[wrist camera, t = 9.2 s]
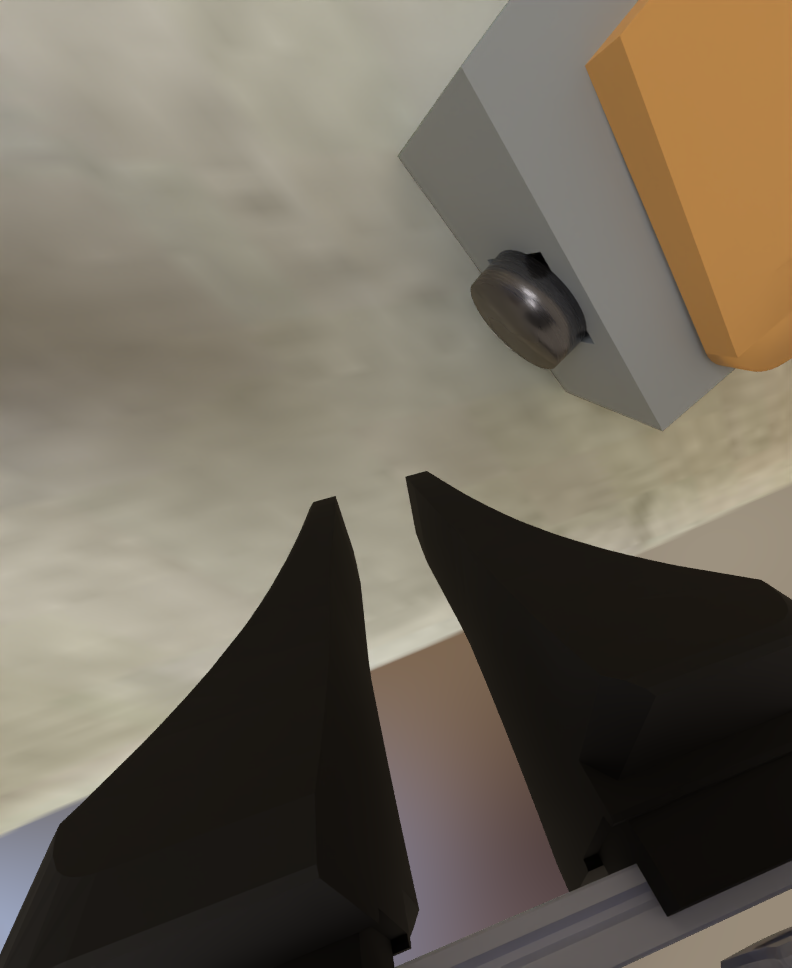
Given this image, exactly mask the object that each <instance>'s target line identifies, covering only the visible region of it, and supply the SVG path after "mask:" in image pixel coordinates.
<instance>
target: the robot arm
mask: <svg viewBox="0 0 792 968" xmlns="http://www.w3.org/2000/svg"><path fill="white" fill-rule="evenodd" d="M406 482H407V487H408V493H409V498H410V503H411V509H412V514H413V520H414V525H415V530H416V534H417V537H418V540H419V542H420V545H421V548H422V550H423V553H424V555H425V558H426V560H427V563H428V565H429V567H430V568H431V570H432V572H433V574H434V576H435V578H436V580H437V582H438V584H439V585H440V587H441V589H442V591H443V593H444V595H445V597H446V599H447V600H448V602H449V604H450V606H451V608H452V610H453V612H454V613H455V615H456V617H457V619H458V621H459V623H460V625H461V627H462V628H463V630H464V633H465V635H466V637H467V639H468V641H469V643H470V645H471V647H472V650H473V652H474V654H475V657H476V659H477V662H478V664H479V666H480V669H481V671H482V673H483V676H484V678H485V681H486V683H487V686H488V688H489V691H490V693H491V695H492V698H493V700H494V703H495V705H496V708H497V710H498V713H499V715H500V718H501V720H502V722H503V725H504V727H505V730H506V733H507V735H508V738H509V740H510V743H511V745H512V748H513V750H514V753H515V755H516V758H517V760H518V763H519V765H520V768H521V771H522V773H523V776H524V778H525V781H526V783H527V786H528V789H529V791H530V794H531V796H532V799H533V801H534V804H535V807H536V810H537V812H538V815H539V817H540V820H541V823H542V825H543V828H544V831H545V833H546V836H547V838H548V841H549V844H550V846H551V849H552V852H553V855H554V857H555V860H556V863H557V865H558V867H559V870H560V872H561V874H562V877H563V879H564V881H565V883H566V886H567V888H568V890H569V893H567V894H564V895H562V896H560V897H557V898H555V899H553V900H551V901H548V902H546V903H543V904H541V905H539V906H536V907H534V908H532V909H529V910H527V911H525V912H522V913H520V914H518V915H515V916H513V917H511V918H508V919H506V920H504V921H501V922H499V923H497V924H495V925H492V926H490V927H488V928H485V929H483V930H481V931H479V932H476V933H474V934H471V935H469V936H467V937H464V938H462V939H460V940H457V941H455V942H453V943H450V944H448V945H446V946H443V947H441V948H439V949H436V950H434V951H432V952H429V953H427V954H425V955H422V956H420V957H418V958H415V959H413V960H411V961H408V962H406V963H404V964H402V965H399V966H397V967H395V968H622V967H624V966H626V965H628V964H630V963H632V962H634V961H637V960H639V959H641V958H643V957H645V956H647V955H650V954H652V953H654V952H656V951H658V950H660V949H663V948H665V947H667V946H669V945H671V944H673V943H675V942H678V941H680V940H682V939H684V938H686V937H688V936H691V935H693V934H695V933H697V932H699V931H701V930H703V929H706V928H708V927H710V926H712V925H714V924H716V923H719V922H721V921H723V920H725V919H727V918H729V917H731V916H734V915H736V914H738V913H740V912H742V911H744V910H747V909H749V908H751V907H753V906H755V905H757V904H759V903H762V902H764V901H766V900H768V899H770V898H773V897H775V896H777V895H779V894H781V893H783V892H785V891H788V890H790V889H792V600H791V599H790V598H788V597H787V596H785V595H784V594H782V593H781V592H779V591H777V590H776V589H775V588H773V587H771V586H770V585H768V584H767V583H765V582H763V581H762V580H759V579H752V578H747V577H741V576H734V575H729V574H722V573H717V572H711V571H705V570H699V569H693V568H687V567H682V566H676V565H671V564H666V563H662V562H657V561H652V560H648V559H643V558H639V557H635V556H630V555H626V554H622V553H618V552H614V551H610V550H606V549H602V548H599V547H595V546H592V545H589V544H585V543H582V542H578V541H575V540H572V539H568V538H565V537H562V536H559V535H556V534H553V533H550V532H548V531H545V530H542V529H540V528H537V527H534V526H532V525H529V524H526V523H524V522H521V521H519V520H516V519H514V518H512V517H510V516H507V515H505V514H503V513H501V512H499V511H497V510H495V509H492V508H490V507H488V506H486V505H484V504H482V503H480V502H479V501H477V500H475V499H473V498H471V497H469V496H468V495H466V494H464V493H462V492H460V491H459V490H457V489H455V488H454V487H452V486H450V485H449V484H447V483H445V482H444V481H442V480H440V479H439V478H437V477H436V476H434V475H432V474H431V473H429V472H427V471H425V472H421V473H418V474H414V475H410V476H407V477H406ZM418 911H419V907H418V902H417V898H416V893H415V889H414V884H413V879H412V875H411V871H410V865H409V861H408V856H407V852H406V847H405V843H404V838H403V833H402V828H401V824H400V820H399V814H398V810H397V805H396V800H395V795H394V790H393V786H392V781H391V776H390V771H389V766H388V761H387V757H386V752H385V747H384V742H383V736H382V731H381V726H380V722H379V717H378V711H377V706H376V701H375V697H374V692H373V686H372V681H371V674H370V667H369V660H368V651H367V641H366V631H365V621H364V611H363V602H362V592H361V583H360V578H359V574H358V569H357V564H356V560H355V556H354V551H353V548H352V545H351V542H350V539H349V536H348V533H347V530H346V527H345V524H344V521H343V517H342V514H341V511H340V508H339V505H338V502H337V499H336V496H334V497H330V498H327V499H323V500H319V501H316V502H313V504H312V505H311V507H310V509H309V512H308V514H307V517H306V519H305V522H304V524H303V526H302V529H301V531H300V533H299V535H298V537H297V539H296V542H295V544H294V546H293V548H292V550H291V552H290V554H289V556H288V558H287V560H286V562H285V563H284V565H283V567H282V569H281V570H280V572H279V574H278V576H277V577H276V579H275V581H274V583H273V584H272V586H271V588H270V589H269V591H268V593H267V594H266V596H265V597H264V599H263V600H262V602H261V604H260V605H259V607H258V608H257V610H256V611H255V612H254V614H253V615H252V617H251V618H250V620H249V621H248V623H247V624H246V625H245V627H244V628H243V629H242V631H241V632H240V633H239V634H238V636H237V637H236V638H235V639H234V641H233V642H232V643H231V644H230V646H229V647H228V648H227V649H226V651H225V652H224V653H223V654H222V656H221V657H220V658H219V659H218V661H217V662H216V663H215V664H214V666H213V667H212V668H211V669H210V671H209V672H208V673H207V674H206V675H205V676H204V677H203V679H202V680H201V681H200V682H199V683H198V684H197V685H196V687H195V688H194V689H193V690H192V691H191V692H190V693H189V694H188V696H187V697H186V698H185V699H184V700H183V701H182V702H181V703H180V704H179V705H178V706H177V708H176V709H175V710H174V711H173V712H172V713H171V714H170V715H169V716H168V717H167V718H166V719H165V720H164V722H163V723H162V724H161V725H160V726H159V727H158V728H157V729H156V730H155V731H154V732H153V733H152V734H151V735H150V736H149V737H148V738H147V739H146V740H145V741H144V742H143V743H142V745H141V746H139V747H138V748H137V749H136V750H135V751H134V752H133V753H132V754H131V755H130V756H129V757H128V758H127V759H126V760H125V761H124V762H123V763H122V764H121V765H120V766H119V767H118V768H117V769H116V770H115V771H114V772H113V773H112V774H111V775H110V776H109V777H108V778H107V779H106V780H105V781H104V782H103V783H102V784H101V785H100V786H99V787H98V788H97V789H96V790H95V791H94V792H93V793H92V794H91V795H90V796H89V797H88V798H87V799H86V800H85V801H84V802H83V803H82V804H81V805H80V806H78V807H77V808H76V809H75V810H74V811H73V812H72V813H71V814H70V815H69V816H68V817H67V818H66V819H65V820H64V821H63V822H62V823H60V825H59V827H58V829H57V831H56V833H55V835H54V837H53V839H52V841H51V843H50V846H49V848H48V850H47V852H46V854H45V857H44V859H43V861H42V863H41V865H40V868H39V870H38V872H37V875H36V877H35V879H34V881H33V883H32V885H31V887H30V890H29V892H28V894H27V896H26V898H25V901H24V903H23V905H22V907H21V909H20V912H19V914H18V916H17V918H16V921H15V923H14V925H13V927H12V929H11V931H10V934H9V936H8V938H7V940H6V943H5V945H4V947H3V949H2V951H1V954H0V968H394V961H393V956H395V955H397V954H400V953H402V952H404V951H407V950H409V949H411V941H410V936H411V933H412V931H413V928H414V925H415V921H416V918H417V915H418ZM721 968H792V927H789V928H787V929H784V930H782V931H779V932H777V933H775V934H773V935H771V936H768V937H766V938H764V939H762V940H760V941H758V942H756V943H754V944H752V945H750V946H748V947H746V948H745V949H743V950H741V951H739V952H738V953H735V954H734V955H732V956H730V957H728V958H726V959H725V960H723V961H721Z"/></svg>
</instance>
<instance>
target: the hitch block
mask: <svg viewBox="0 0 792 968" xmlns="http://www.w3.org/2000/svg"><path fill="white" fill-rule="evenodd" d="M637 1H638V0H509V1H508V2H507V4H506V5H505V7H504V8H503V9H502V11H501V12H500V13H499V15H498V16H497V17H496V19H495V20H494V22H493V23H492V24H491V26H490V27H489V28H488V30H487V31H486V32H485V34H484V35H483V37H482V38H481V39H480V41H479V42H478V43H477V45H476V46H475V47H474V49H473V50H472V52H471V53H470V54H469V56H468V57H467V58H466V60H465V61H464V62H463V64H462V65H461V67H460V68H459V69H458V71H457V72H456V74H455V75H454V77H453V78H452V79H451V81H450V82H449V84H448V85H447V87H446V88H445V89H444V91H443V92H442V94H441V95H440V97H439V98H438V99H437V101H436V102H435V104H434V105H433V107H432V108H431V110H430V111H429V112H428V114H427V115H426V117H425V118H424V120H423V121H422V122H421V124H420V125H419V127H418V128H417V130H416V131H415V132H414V134H413V135H412V137H411V138H410V140H409V141H408V142H407V144H406V145H405V147H404V148H403V150H402V151H401V152H400V154H399V155H398V157H399V158H400V160H401V161H402V163H403V164H404V165H405V167H406V168H407V170H408V171H409V172H410V174H411V175H412V177H413V178H414V179H415V181H416V182H417V184H418V185H419V186H420V188H421V189H422V191H423V192H424V193H425V195H426V196H427V198H428V199H429V200H430V202H431V203H432V205H433V206H434V207H435V209H436V210H437V212H438V213H439V214H440V216H441V217H442V219H443V220H444V221H445V223H446V224H447V226H448V227H449V228H450V230H451V231H452V233H453V234H454V235H455V237H456V238H457V240H458V241H459V242H460V244H461V245H462V247H463V248H464V249H465V251H466V252H467V254H468V255H469V256H470V258H471V259H472V261H473V262H474V263H475V265H476V266H477V268H478V269H479V270H480V272H481V273H483V271H484V270H485V269H486V268H487V267H488V266H489V265H490V263H491V262H492V261H493V260H494V259H495V258H496V257H497V255H498V254H499V253H500V252H502V251H505V250H516V251H519V252H523V253H525V254H527V255H529V256H531V255H532V254H533V253H537V252H541V254H542V256H543V257H544V259H545V261H546V262H547V264H548V266H549V268H550V269H551V271H552V272H553V273H554V274H555V275H556V276H557V277H558V278H559V279H560V280H561V281H562V282H563V283H564V284H565V285H566V287H567V288H568V289H569V290H570V292H571V293H572V294H573V296H574V297H575V299H576V300H577V302H578V304H579V306H580V308H581V309H582V312H583V314H584V317H585V321H586V326H587V332H586V336H585V338H584V339H583V340H582V341H581V342H580V343H579V344H578V345H577V346H576V347H575V348H574V349H573V350H572V351H571V352H570V353H569V354H568V355H567V356H566V357H565V358H564V359H563V360H562V361H561V362H560V363H559V364H558V365H557V366H556V367H555V368H554V369H550V370H551V371H552V373H553V374H554V375H555V377H556V378H557V380H558V381H559V382H560V384H561V385H562V387H563V388H564V389H565V391H566V392H568V393H571V394H573V395H575V396H578V397H580V398H583V399H585V400H588V401H590V402H593V403H595V404H598V405H600V406H602V407H605V408H607V409H610V410H612V411H615V412H617V413H620V414H622V415H624V416H627V417H629V418H632V419H634V420H637V421H639V422H642V423H644V424H647V425H649V426H651V427H654V428H656V429H659V430H661V431H664V430H665V429H666V428H667V427H668V426H669V425H670V424H672V423H673V422H674V421H675V420H676V419H677V418H679V417H680V416H681V415H682V414H683V413H684V412H686V411H687V410H688V409H689V408H690V407H691V406H693V405H694V404H695V403H696V402H697V401H698V400H699V399H701V398H702V397H703V396H704V395H705V394H706V393H708V392H709V391H710V390H711V389H712V388H713V387H715V386H716V385H717V384H718V383H719V382H720V381H722V380H723V379H724V378H725V377H726V376H727V375H728V374H730V373H731V372H732V371H733V370H734V369H735V368H732V367H726V366H720V365H717V364H715V363H713V362H712V361H711V360H710V359H709V358H708V356H707V354H706V352H705V350H704V347H703V345H702V343H701V340H700V338H699V336H698V333H697V331H696V328H695V326H694V324H693V321H692V319H691V317H690V314H689V312H688V309H687V307H686V305H685V302H684V300H683V298H682V295H681V293H680V290H679V288H678V286H677V283H676V281H675V279H674V276H673V274H672V271H671V269H670V267H669V264H668V262H667V260H666V257H665V255H664V252H663V250H662V248H661V245H660V243H659V241H658V238H657V236H656V233H655V231H654V229H653V226H652V224H651V222H650V219H649V217H648V214H647V212H646V210H645V207H644V205H643V203H642V200H641V198H640V195H639V193H638V191H637V188H636V186H635V184H634V181H633V179H632V176H631V174H630V172H629V169H628V167H627V165H626V162H625V160H624V157H623V155H622V153H621V150H620V148H619V146H618V143H617V141H616V139H615V136H614V134H613V131H612V129H611V127H610V124H609V122H608V120H607V117H606V115H605V112H604V110H603V108H602V105H601V103H600V101H599V98H598V96H597V93H596V91H595V89H594V86H593V84H592V82H591V79H590V77H589V74H588V72H587V70H586V67H585V65H586V64H587V63H588V61H589V60H590V59H591V58H592V56H593V55H594V54H595V53H596V52H597V50H598V49H599V48H600V47H601V45H602V44H603V43H604V42H605V41H606V39H607V38H608V37H609V36H610V34H611V33H612V32H613V31H614V30H615V28H616V27H617V26H618V25H619V23H620V22H621V21H622V20H623V19H624V17H625V16H626V15H627V14H628V12H629V11H630V10H631V9H632V8H633V6H634V5H635V4H636V3H637Z"/></svg>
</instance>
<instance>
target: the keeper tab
mask: <svg viewBox="0 0 792 968" xmlns="http://www.w3.org/2000/svg"><path fill="white" fill-rule="evenodd" d="M585 67H586V70H587V72H588V74H589V77H590V79H591V82H592V84H593V86H594V89H595V91H596V93H597V96H598V98H599V101H600V103H601V105H602V108H603V110H604V112H605V115H606V117H607V120H608V122H609V124H610V127H611V129H612V131H613V134H614V136H615V139H616V141H617V143H618V146H619V148H620V150H621V153H622V155H623V157H624V160H625V162H626V165H627V167H628V169H629V172H630V174H631V176H632V179H633V181H634V184H635V186H636V188H637V191H638V193H639V195H640V198H641V200H642V203H643V205H644V207H645V210H646V212H647V214H648V217H649V219H650V222H651V224H652V226H653V229H654V231H655V233H656V236H657V238H658V241H659V243H660V245H661V248H662V250H663V252H664V255H665V257H666V260H667V262H668V264H669V267H670V269H671V271H672V274H673V276H674V279H675V281H676V283H677V286H678V288H679V290H680V293H681V295H682V298H683V300H684V302H685V305H686V307H687V309H688V312H689V314H690V317H691V319H692V321H693V324H694V326H695V328H696V331H697V333H698V336H699V338H700V340H701V343H702V345H703V347H704V350H705V352H706V354H707V356H708V358H709V359H710V360H711V361H712V362H713V363H715V364H717V365H720V366H726V367H732V368H737V369H743V370H749V371H755V372H761V371H767V370H770V369H773V368H775V367H778V366H780V365H781V364H783V363H785V362H787V361H788V360H790V359H791V358H792V0H638V1H637V3H636V4H635V5H634V6H633V8H632V9H631V10H630V11H629V12H628V14H627V15H626V16H625V17H624V19H623V20H622V21H621V22H620V23H619V25H618V26H617V27H616V28H615V30H614V31H613V32H612V33H611V34H610V36H609V37H608V38H607V39H606V41H605V42H604V43H603V44H602V45H601V47H600V48H599V49H598V50H597V52H596V53H595V54H594V55H593V56H592V58H591V59H590V60H589V61H588V63H587V64H586V65H585Z"/></svg>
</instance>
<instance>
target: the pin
mask: <svg viewBox="0 0 792 968" xmlns="http://www.w3.org/2000/svg"><path fill="white" fill-rule="evenodd" d="M471 296H472V299H473V301H474V304H475V306H476V307H477V309H478V311H479V313H480V314H481V316H482V317H483V319H484V320H485V321H486V323H487V324H488V325H489V326H490V328H491V329H492V330H493V331H494V332H495V333H496V334H497V335H498V337H499V338H500V339H501V340H502V341H503V342H504V343H505V344H507V345H508V346H509V347H510V348H511V349H512V350H513V351H515V352H516V353H517V354H518V355H520V356H521V357H522V358H524V359H525V360H527V361H529V362H530V363H532V364H534V365H536V366H538V367H540V368H544V369H554V368H555V367H556V366H557V365H558V364H559V363H560V362H561V361H562V360H563V359H564V358H565V357H566V356H567V355H568V354H569V353H570V352H571V351H572V350H573V349H574V348H575V347H576V346H577V345H578V344H579V343H580V342H581V341H582V340H583V339H584V338H585V336H586V332H587V326H586V321H585V317H584V314H583V312H582V309H581V308H580V306H579V304H578V302H577V300H576V299H575V297H574V296H573V294H572V293H571V292H570V290H569V289H568V288H567V287H566V285H565V284H564V283H563V282H562V281H561V280H560V279H559V278H558V277H557V276H556V275H555V274H554V273H553V272H552V271H551V269H550V268H549V266H548V264H547V262H546V261H545V259H544V257H543V256H542V254H541V252H537V253H533V254H532V255H531V256H529V255H527V254H525V253H523V252H519V251H516V250H505V251H502V252H500V253H499V254H498V255H497V257H496V258H495V259H494V260H493V261H492V262H491V263H490V265H489V266H488V267H487V268H486V269H485V270H484V271H483V273H482V274H481V275H480V276H479V277H478V278H477V279H476V281H475V282H474V283H473V284H472V286H471Z"/></svg>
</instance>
